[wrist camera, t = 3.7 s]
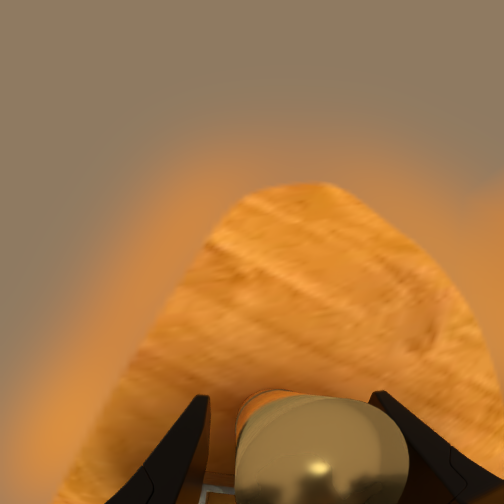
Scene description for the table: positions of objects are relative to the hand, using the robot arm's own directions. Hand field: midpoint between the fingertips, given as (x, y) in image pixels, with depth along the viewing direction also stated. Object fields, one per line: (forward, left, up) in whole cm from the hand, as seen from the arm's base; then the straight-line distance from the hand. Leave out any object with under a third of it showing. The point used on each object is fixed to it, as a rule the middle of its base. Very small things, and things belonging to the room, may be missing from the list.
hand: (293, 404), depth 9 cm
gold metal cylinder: (-1, 0, -7) cm, 7 cm away
